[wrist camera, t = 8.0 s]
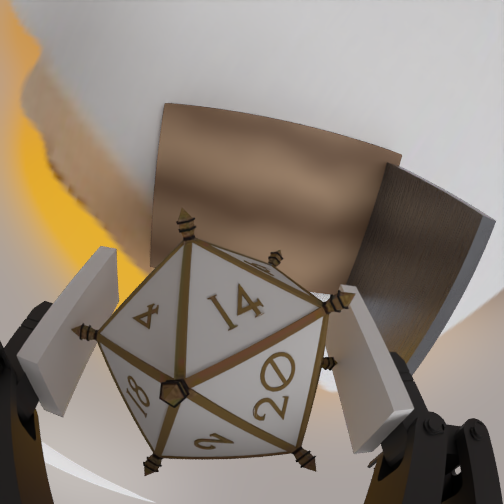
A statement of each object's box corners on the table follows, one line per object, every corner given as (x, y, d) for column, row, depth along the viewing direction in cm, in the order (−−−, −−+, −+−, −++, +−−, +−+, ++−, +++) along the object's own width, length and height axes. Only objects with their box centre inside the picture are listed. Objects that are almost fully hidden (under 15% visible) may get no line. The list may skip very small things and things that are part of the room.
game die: (207, 223, 15) (111, 114, 6) (355, 297, 14) (474, 281, 4) (133, 368, 15) (-8, 416, 5) (271, 445, 13) (257, 587, 4)
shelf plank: (171, 103, 21) (164, 103, 20) (391, 150, 23) (402, 154, 22) (155, 256, 28) (150, 266, 26) (346, 285, 30) (352, 297, 28)
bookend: (387, 162, 22) (483, 215, 11) (399, 166, 22) (496, 220, 11) (344, 287, 27) (389, 387, 17) (355, 288, 27) (403, 387, 17)
